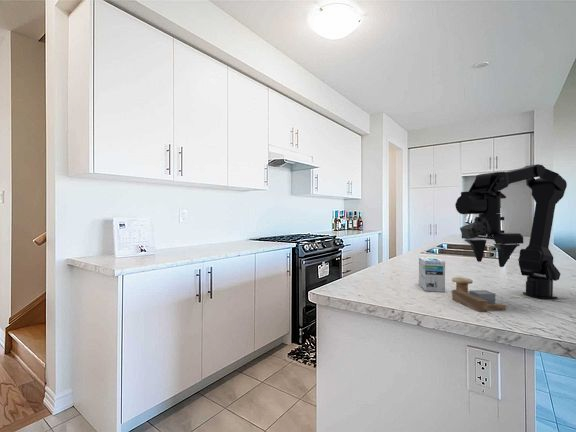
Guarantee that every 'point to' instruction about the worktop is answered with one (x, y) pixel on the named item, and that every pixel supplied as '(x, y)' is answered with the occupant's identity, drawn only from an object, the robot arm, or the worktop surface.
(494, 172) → the robot arm
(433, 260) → the light bulb box
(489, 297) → the blue-grey block
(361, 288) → the worktop surface
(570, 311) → the worktop surface
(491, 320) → the worktop surface
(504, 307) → the notched board
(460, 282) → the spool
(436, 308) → the worktop surface
